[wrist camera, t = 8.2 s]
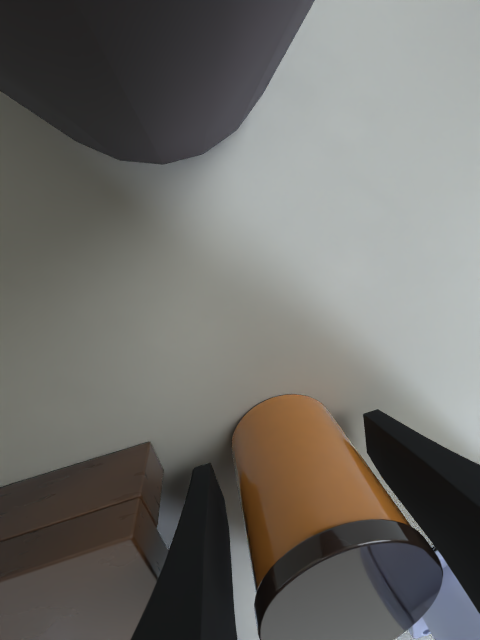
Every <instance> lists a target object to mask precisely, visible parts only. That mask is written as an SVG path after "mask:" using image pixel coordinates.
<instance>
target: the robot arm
mask: <svg viewBox="0 0 480 640" xmlns="http://www.w3.org/2000/svg"><path fill="white" fill-rule="evenodd" d="M363 417H364V427H365V437H366V447H367V453H368V455H369V457H370V458H371V460H372V462H373V463H374V465H375V467H376V468H377V470H378V471H379V473H380V475H381V476H382V478H383V479H384V480H385V482H386V483H387V484H388V486H389V487H390V488H391V490H392V491H393V492H394V494H395V495H396V496H397V498H398V499H399V500H400V501H401V503H402V504H403V505H404V507H405V508H406V509H407V510H408V512H409V513H410V514H411V516H412V517H413V518H414V520H415V521H416V522H417V523H418V525H419V526H420V527H421V529H422V530H423V531H424V532H425V534H426V535H427V536H428V538H429V539H430V540H431V542H432V543H433V544H434V546H435V547H436V549H437V550H438V551H435V553H436V555H437V556H438V558H439V560H440V562H441V565H442V568H443V582H442V586H441V589H440V592H439V594H438V596H437V598H436V600H435V601H434V603H433V604H432V606H431V607H430V608H429V609H428V611H427V612H426V613H425V614H424V615H423V616H422V617H421V618H420V619H419V620H418V621H417V622H416V623H415V624H414V625H413V626H412V627H410V628H409V629H408V630H409V632H410V634H411V636H412V637H413V638H415V639H417V638H420V637H423V636H426V635H428V634H432V636H433V638H434V639H435V640H480V465H479V464H477V463H474V462H472V461H470V460H468V459H466V458H464V457H462V456H460V455H458V454H456V453H454V452H452V451H450V450H449V449H447V448H445V447H443V446H441V445H439V444H437V443H436V442H434V441H432V440H430V439H428V438H426V437H425V436H423V435H421V434H419V433H417V432H416V431H414V430H412V429H411V428H409V427H407V426H405V425H404V424H402V423H400V422H399V421H397V420H395V419H393V418H392V417H390V416H388V415H387V414H385V413H383V412H381V411H380V410H378V409H377V410H374V411H371V412H368V413H365V414H363ZM131 640H237V633H236V625H235V614H234V601H233V584H232V568H231V552H230V537H229V526H228V520H227V513H226V507H225V501H224V497H223V495H222V492H221V489H220V487H219V484H218V482H217V479H216V476H215V474H214V471H213V469H212V466H211V463H208V464H205V465H201V466H198V467H195V468H194V469H193V471H192V476H191V480H190V485H189V489H188V492H187V496H186V500H185V503H184V507H183V510H182V513H181V516H180V519H179V523H178V526H177V529H176V532H175V535H174V538H173V541H172V543H171V546H170V549H169V551H168V554H167V557H166V560H165V562H164V565H163V568H162V570H161V573H160V575H159V578H158V580H157V582H156V585H155V587H154V590H153V592H152V594H151V596H150V599H149V601H148V603H147V606H146V608H145V610H144V612H143V614H142V616H141V618H140V621H139V623H138V625H137V627H136V629H135V631H134V633H133V635H132V638H131Z"/></svg>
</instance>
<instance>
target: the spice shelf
mask: <svg viewBox="0 0 480 640" xmlns="http://www.w3.org/2000/svg"><path fill="white" fill-rule="evenodd" d="M163 473H164V470H163V468H162V465H161V463H160V461H159V459H158V457H157V455H156V453H155V451H154V448H153V446H152V444H151V442H147V443H143V444H140V445H137V446H134V447H130V448H127V449H124V450H121V451H118V452H114V453H111V454H108V455H105V456H101V457H98V458H95V459H92V460H88V461H85V462H82V463H79V464H76V465H72V466H69V467H66V468H63V469H59V470H56V471H53V472H50V473H46V474H43V475H40V476H37V477H34V478H30V479H27V480H24V481H21V482H17V483H14V484H11V485H8V486H4V487H1V488H0V640H131V638H132V635H133V633H134V631H135V629H136V627H137V625H138V623H139V621H140V618H141V616H142V614H143V612H144V610H145V608H146V606H147V603H148V601H149V599H150V596H151V594H152V592H153V590H154V587H155V585H156V582H157V580H158V578H159V575H160V573H161V570H162V568H163V565H164V562H165V560H166V557H167V554H168V549H167V547H166V545H165V544H164V542H163V540H162V538H161V536H160V534H159V533H158V531H157V529H156V528H157V525H158V516H159V508H160V499H161V490H162V482H163Z"/></svg>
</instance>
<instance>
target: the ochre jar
mask: <svg viewBox="0 0 480 640" xmlns="http://www.w3.org/2000/svg"><path fill="white" fill-rule="evenodd" d="M231 447H232V455H233V461H234V467H235V473H236V479H237V485H238V491H239V497H240V503H241V509H242V515H243V521H244V527H245V533H246V539H247V545H248V550H249V556H250V562H251V568H252V574H253V580H254V586H255V592H256V597H255V603H254V610H255V618H256V624H257V630H258V635H259V639H260V640H394V639H395V638H397V637H398V636H400V635H401V634H403V633H404V632H405V631H407V630H408V629H409V628H410V627H412V626H413V625H414V624H415V623H416V622H417V621H418V620H419V619H420V618H421V617H422V616H423V615H424V614H425V613H426V612H427V611H428V609H429V608H430V607H431V606H432V604H433V603H434V601H435V600H436V598H437V596H438V594H439V592H440V589H441V586H442V582H443V568H442V565H441V562H440V560H439V558H438V556H437V555H436V553H435V552H434V550H433V549H432V548H431V546H430V545H429V544H428V542H427V541H426V539H425V538H424V537H423V536H422V535H421V534H420V533H419V532H418V531H417V530H415V529H414V528H412V527H411V526H410V524H409V523H408V521H407V520H406V519H405V517H404V516H403V514H402V513H401V511H400V510H399V509H398V507H397V506H396V504H395V503H394V502H393V500H392V499H391V497H390V496H389V495H388V493H387V492H386V490H385V489H384V488H383V486H382V485H381V483H380V482H379V481H378V479H377V478H376V476H375V475H374V474H373V472H372V471H371V469H370V468H369V467H368V465H367V464H366V462H365V461H364V459H363V458H362V457H361V455H360V454H359V452H358V451H357V450H356V448H355V447H354V445H353V444H352V443H351V441H350V440H349V438H348V437H347V436H346V434H345V433H344V431H343V430H342V429H341V427H340V426H339V424H338V423H337V422H336V420H335V419H334V417H333V416H332V415H331V413H330V412H329V410H328V409H327V408H326V407H325V406H324V405H323V404H322V403H320V402H319V401H317V400H315V399H313V398H311V397H308V396H304V395H297V394H287V395H280V396H276V397H273V398H270V399H267V400H265V401H263V402H261V403H259V404H258V405H256V406H255V407H253V408H252V409H251V410H250V411H248V412H247V413H246V414H245V415H244V417H243V418H242V419H241V420H240V422H239V423H238V425H237V427H236V429H235V431H234V434H233V438H232V445H231Z"/></svg>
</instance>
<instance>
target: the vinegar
mask: <svg viewBox="0 0 480 640" xmlns="http://www.w3.org/2000/svg"><path fill="white" fill-rule="evenodd" d="M314 1H315V0H0V91H2V92H3V93H5V94H6V95H8V96H9V97H10V98H12V99H13V100H15V101H16V102H18V103H19V104H21V105H22V106H24V107H25V108H27V109H28V110H30V111H31V112H33V113H34V114H36V115H37V116H39V117H40V118H42V119H43V120H45V121H46V122H48V123H49V124H51V125H52V126H54V127H55V128H57V129H58V130H60V131H61V132H63V133H64V134H66V135H67V136H69V137H70V138H72V139H73V140H75V141H77V142H79V143H81V144H84V145H86V146H88V147H91V148H93V149H95V150H97V151H100V152H102V153H104V154H107V155H109V156H111V157H114V158H116V159H118V160H123V161H133V162H144V163H154V164H167V163H171V162H174V161H178V160H182V159H186V158H190V157H194V156H197V155H201V154H204V153H205V152H206V151H208V150H209V149H211V148H212V147H214V146H215V145H216V144H218V143H219V142H221V141H222V140H224V139H225V138H226V137H228V136H229V135H231V134H232V133H233V132H235V131H236V130H237V129H238V128H239V126H240V125H241V123H242V122H243V121H244V119H245V118H246V117H247V115H248V114H249V112H250V111H251V110H252V108H253V107H254V105H255V104H256V103H257V101H258V100H259V98H260V97H261V96H262V94H263V93H264V91H265V89H266V87H267V85H268V84H269V82H270V80H271V78H272V76H273V75H274V73H275V71H276V69H277V67H278V66H279V64H280V62H281V60H282V58H283V57H284V55H285V53H286V51H287V49H288V48H289V46H290V44H291V42H292V40H293V39H294V37H295V35H296V33H297V31H298V30H299V28H300V26H301V24H302V22H303V20H304V19H305V17H306V15H307V13H308V11H309V10H310V8H311V6H312V4H313V2H314Z"/></svg>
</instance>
